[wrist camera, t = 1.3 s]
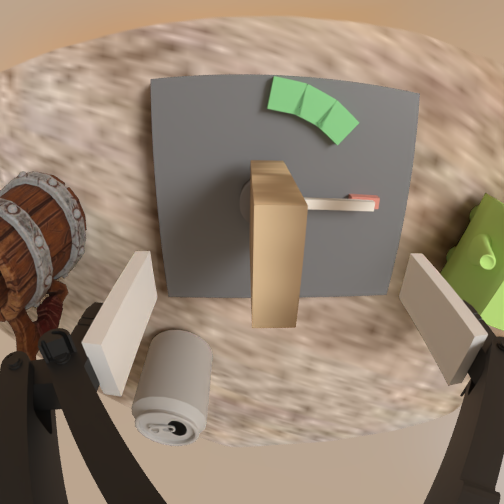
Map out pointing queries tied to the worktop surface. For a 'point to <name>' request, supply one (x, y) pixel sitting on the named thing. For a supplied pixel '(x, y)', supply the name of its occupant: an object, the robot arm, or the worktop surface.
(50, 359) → the robot arm
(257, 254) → the peg key
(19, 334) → the mug
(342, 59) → the worktop surface
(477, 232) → the kettle
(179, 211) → the board
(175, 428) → the can
